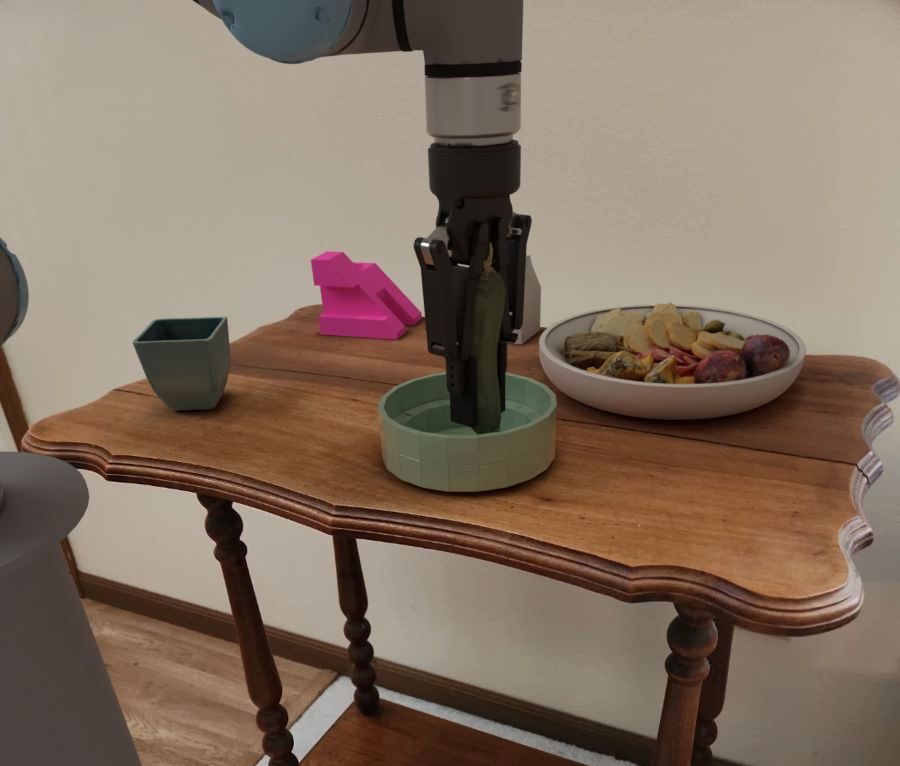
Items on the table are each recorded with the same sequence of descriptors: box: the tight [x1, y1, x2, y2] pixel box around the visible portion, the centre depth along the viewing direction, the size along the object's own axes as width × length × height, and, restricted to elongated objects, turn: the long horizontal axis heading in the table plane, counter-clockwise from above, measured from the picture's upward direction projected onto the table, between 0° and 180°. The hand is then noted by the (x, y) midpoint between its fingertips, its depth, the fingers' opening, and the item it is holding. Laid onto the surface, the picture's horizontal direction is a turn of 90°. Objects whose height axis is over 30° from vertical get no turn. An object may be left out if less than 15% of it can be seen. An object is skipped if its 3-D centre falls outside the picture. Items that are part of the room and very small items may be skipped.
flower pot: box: [132, 316, 231, 412], centre depth 94 cm, size 9×9×9 cm
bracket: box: [310, 250, 423, 340], centre depth 117 cm, size 12×10×10 cm
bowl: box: [538, 302, 807, 421], centre depth 95 cm, size 30×30×8 cm
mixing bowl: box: [377, 371, 558, 493], centre depth 80 cm, size 17×17×6 cm
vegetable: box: [470, 243, 505, 435], centre depth 74 cm, size 4×4×20 cm
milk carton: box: [507, 254, 542, 345], centre depth 111 cm, size 4×7×10 cm, turn 153°
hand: (478, 415), depth 78 cm, fingers closed on vegetable, 4 cm apart
